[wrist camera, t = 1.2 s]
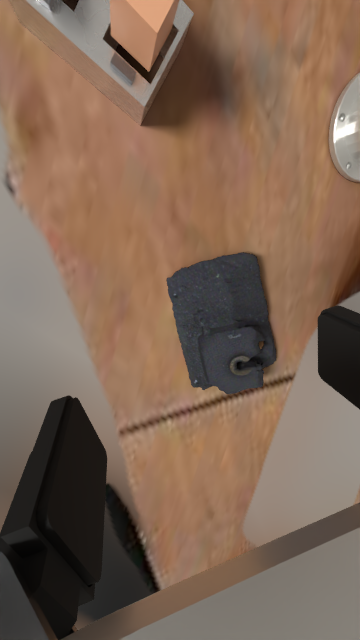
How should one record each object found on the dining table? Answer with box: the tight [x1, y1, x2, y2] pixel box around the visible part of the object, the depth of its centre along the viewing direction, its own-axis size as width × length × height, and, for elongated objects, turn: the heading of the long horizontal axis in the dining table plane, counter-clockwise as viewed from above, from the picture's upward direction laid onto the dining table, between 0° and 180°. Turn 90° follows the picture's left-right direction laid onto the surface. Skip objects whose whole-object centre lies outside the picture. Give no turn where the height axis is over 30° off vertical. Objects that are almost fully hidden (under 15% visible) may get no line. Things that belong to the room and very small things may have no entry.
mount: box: [9, 0, 194, 125], centre depth 21 cm, size 8×12×6 cm, turn 56°
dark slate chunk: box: [167, 252, 276, 394], centre depth 37 cm, size 15×22×5 cm
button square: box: [110, 0, 180, 72], centre depth 18 cm, size 4×4×5 cm
